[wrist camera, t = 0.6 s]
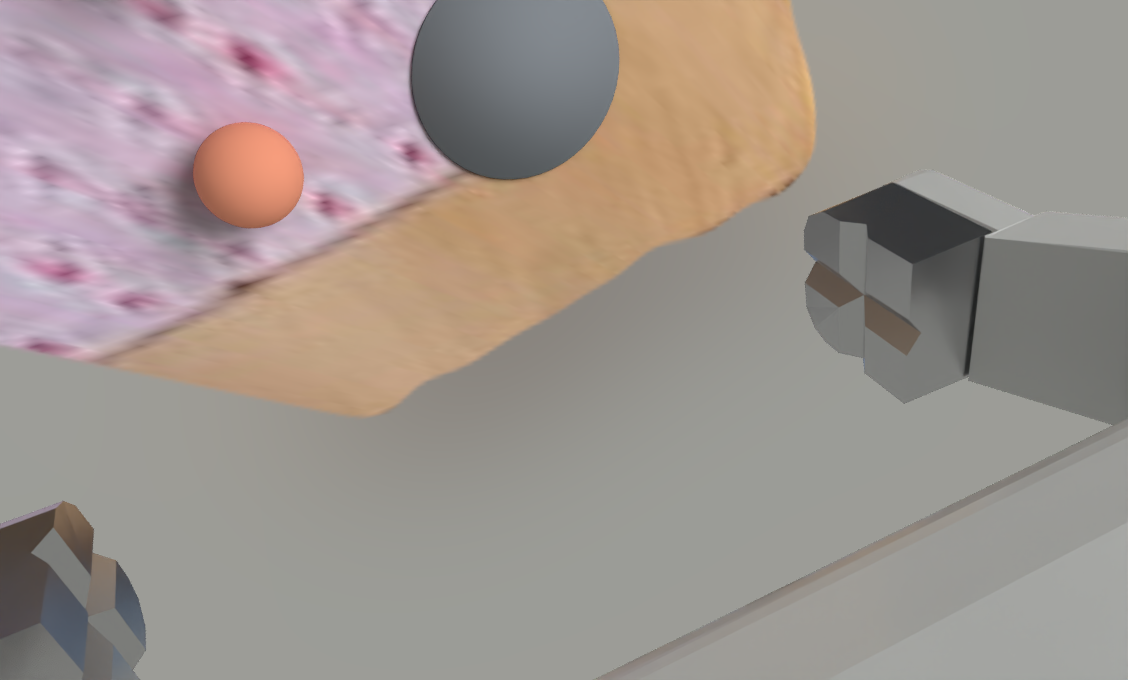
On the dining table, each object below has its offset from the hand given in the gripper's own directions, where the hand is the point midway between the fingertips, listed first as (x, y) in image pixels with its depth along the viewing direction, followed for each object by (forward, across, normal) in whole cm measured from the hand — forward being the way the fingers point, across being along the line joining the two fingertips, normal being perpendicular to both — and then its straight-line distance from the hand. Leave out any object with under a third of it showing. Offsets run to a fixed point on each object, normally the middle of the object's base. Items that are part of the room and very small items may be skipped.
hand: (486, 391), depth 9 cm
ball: (+40, +3, +11) cm, 41 cm away
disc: (+42, -13, +11) cm, 46 cm away
